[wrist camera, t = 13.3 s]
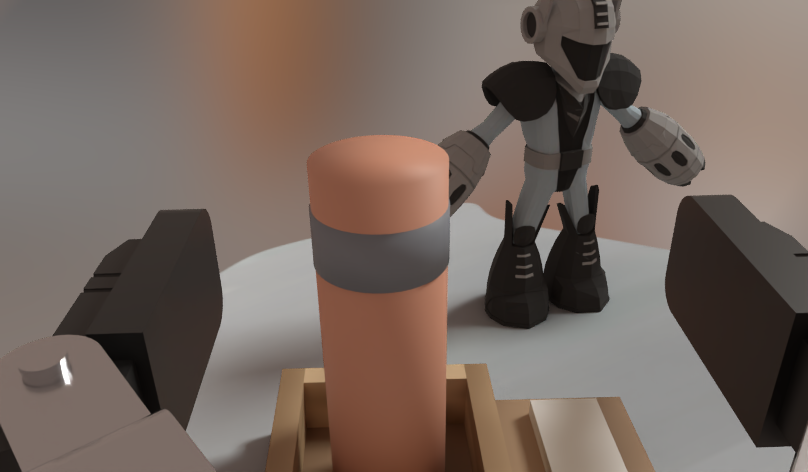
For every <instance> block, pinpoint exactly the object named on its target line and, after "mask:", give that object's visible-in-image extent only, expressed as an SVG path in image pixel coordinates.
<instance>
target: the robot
mask: <svg viewBox="0 0 808 472" xmlns="http://www.w3.org/2000/svg"><path fill="white" fill-rule="evenodd" d="M621 1H622V0H538V1H537V3H536V4H535V6H530V7H527V8H526V9H525V10H524V11H523V14H522V17H521V33H522V36H523V38H524V40H525V41H526V42H527V43H531V44H532V43H533V44H534V47H535V51H536V53H537V54H538V55H539V56H540V57H541V58H542V59H543V60H544V61H546V62H547V63H548V64H549V65H550V66H551V67H550V66H549V65H548V64H547V63H545V62H538V61H519V62H512V63H509V64H507V65H505V66H502V67H500V68H499V69H497V70H496V71H494V72H493V73H491V74H490V75H489V76H488V77H486V78H485V79H484V80H483V82H482V89H483V92H484V96H485V98H486V100H487V101H488V103H489V104H490V105H492V106H496V108H495V109H494V110H493V111H492V112H491V113H490V115H489V116H488V117H487V118H486V119H485V121H484V122H483V123H481V124H480V125H478V126H477V127H476V128H474V129H472V130H471V131H462V130H460V131H458V132H456V133H454V134H453V135H451V136H449V137H447V138H445V139H443V141H442V142H441V143H440V144H438V146H439V147H441V148H442V149H444V150H445V151H446V153H447V154H448V156H449V200H450V217H451V216H452V215H453V214H454V213H455V212H456V211H457V209H458V208H459V207H460V206H461V205H462V204H463V203H464V201H465V200H466V199H467V198H468V196H470V194H471V193H472V192H473V190H474V189H475V187H476V185H477V183H478V182H479V180H480V179H481V177H482V176H483V175H484V173H485V170H486V167H487V164H488V161H489V158H490V155H491V154H490V152H489V145H490V144H491V143H492V141H493V140H494V139H495V138H496V137H497V136H498V135H499V134H500V133H501V132H502V131H503V130H504V129H505V128H506V127H508V125H510V123H511V122H512V121H513V120H514V119H516V120H519V121H520V122H521V126H522V131H523V135H524V138H525V140H526V143H527V144H526V146H525V153H524V161H525V166H524V172H525V182H524V184H523V187H522V190H521V193H520V196H519V199H518V202H517V205H516V208H515V212H514V215H513V218H512V204H511V203H510V202H509V201H508V200H506V211H505V232H504V238H503V240H502V242H501V244H500V246H499V248H498V250H497V252H496V254H495V257H494V259H493V262H492V265H491V268H490V272H489V276H488V282H487V290H486V298H485V311H486V312H487V314H488V315H489V317H490V318H491V319H493V320H495V321H497V322H499V323H500V324H502V325H505V326H513V327H521V328H531V327H533V326H535V325H537V324H539V323H541V322H543V321H545V320H546V319H547V315H548V311H549V306H548V303H549V301H550V302H551V303H553V304H554V305H556V306H557V307H559V308H562V309H566V310H569V311H573V312H600V311H601V310H602V309H603V308H604V306H605V305H606V304H607V303H608V301H609V296H608V286H607V281H606V276H605V271H604V270H603V269H602V268H601V266H600V255H599V249H598V242H597V238H596V234H595V221H596V212H597V203H598V194H599V188H598V185H594V186H591V187H590V190H589V193H588V194H587V183H586V174H587V168H588V165H589V163H590V162H591V156H592V144H591V142H592V138H593V134H594V129H595V125H596V120H597V116H598V113H599V109H600V105H602V106H603V107H604V108H605V109H606V110H607V111H608V112H609V113H611V114H612V115H613V116H614V117H615V118H616V119H617V120H618V121H619V122H620V124H621V127H620V133H621V136H622V138H623V141H624V143H625V145H626V147H627V148H628V150H629V152H630V153H631V155H632V156H634V158H635V159H636V160H637V162H638V163H640V164H641V165H643V166H644V167H645V168H646V169H647V170H649V171H650V172H651V173H652V174H653V175H654V176H655V177H657V178H658V179H660V180H662V181H664V182H666V183H668V184H671V185H677V186H687V185H690V184H691V180H692V179H693V178H694V177H696V176H697V175H698V173H699V172H700V170H704V169H705V159H704V156H703V154H702V152H701V150H700V148H699V146H698V145H697V143H696V142H695V141H694V139H693V138H692V137H691V136H690V135H689V134H688V133H687V132H686V131H685V130H684V129H683V128H682V127H681V126H680V125H679V124H678V123H677V122H676V121H675V120H673V119H672V118H670V117H669V115H667V114H665V113H663V112H660V111H657V110H654V109H651V108H648V107H639V108H636V107H634V106H632V104H633V103H634V101H635V99H636V97H637V95H638V92H639V88H640V84H641V74H640V70H639V69H638V68H637V67H636V66H635V65H634V64H633V63H632V62H631V61H630V60H629V59H627V58H626V57H624V56H622V55H619V54H614V53H610V52H611V43H612V40H613V39H614V36H615V33H616V32H617V30H618V28H619V25H620V11H619V9H620V5H621ZM558 191H559V192H560V191H562V192H563V197H564V202H565V205H563V204H561V203H558V204H557V206H558V210H559V213H560V216H561V220H562V224H563V229H562V231H561V233H560V234H559V236H558V237H557V239H556V240H555V243H554V245H553V247H552V249H551V251H550V253H549V256H548V258H547V261H546V264H545V268H544V273H543V269H542V263H541V259H540V255H539V251H538V249H537V246H536V244H535V239H536V237H537V235H538V232H539V230H540V228H541V225H542V223H543V220H544V218H545V216H546V213H547V211H548V209H549V206H550V205H547V204H548V202H549V200H550V198H551V195H552V193H553V192H558Z"/></svg>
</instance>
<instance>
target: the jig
mask: <svg viewBox="0 0 808 472" xmlns="http://www.w3.org/2000/svg"><path fill="white" fill-rule="evenodd" d="M265 472H333V467H332V455H331V443H330V431H329V420H328V408H327V396H326V384H325V372H324V368H298V369H282V375H281V381H280V387H279V392H278V398H277V404H276V410H275V416H274V422H273V427H272V433H271V439H270V445H269V451H268V457H267V462H266V468H265ZM445 472H655V470H654V468H653V466H652V464H651V462H650V460H649V458H648V456H647V454H646V451H645V449H644V447H643V445H642V443H641V441H640V439H639V437H638V435H637V433H636V430H635V428H634V426H633V424H632V422H631V420H630V418H629V416H628V414H627V412H626V409H625V407H624V405H623V403H622V401H621V399H620V397H597V398H561V399H524V400H495V398H494V394H493V389H492V385H491V381H490V377H489V373H488V369H487V364H456V365H446V433H445Z"/></svg>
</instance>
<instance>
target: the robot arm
mask: <svg viewBox="0 0 808 472" xmlns="http://www.w3.org/2000/svg"><path fill="white" fill-rule="evenodd" d="M665 292H666V299H667V303H668V306H669V309H670V311H671V313H672V314H673V316H674V317H675V319H676V321H677V322H678V324H679V325H680V327H681V328H682V330H683V332H684V333H685V335H686V336H687V338H688V340H689V341H690V343H691V344H692V346H693V347H694V349H695V351H696V352H697V354H698V355H699V357H700V359H701V360H702V362H703V363H704V365H705V366H706V368H707V370H708V371H709V373H710V374H711V376H712V378H713V379H714V381H715V382H716V384H717V386H718V387H719V389H720V390H721V392H722V393H723V395H724V397H725V398H726V400H727V401H728V403H729V405H730V406H731V408H732V409H733V411H734V412H735V414H736V416H737V417H738V419H739V420H740V422H741V424H742V425H743V427H744V428H745V430H746V432H747V433H748V435H749V436H750V438H751V439H752V441H753V443H754V444H755V446H756V447H783V446H792V448H793V449H794V451H795V455H794V458H793V461H792V464H791V467H790V470H789V472H808V251H807V250H806V249H805V248H804V247H803V246H802V245H801V244H800V243H799V242H798V241H797V240H796V239H795V238H793V237H792V236H790V235H789V234H787V233H785V232H783V231H781V230H779V229H777V228H775V227H773V226H771V225H769V224H767V223H765V222H760V221H759V220H758V219H757V218H756V217H755V216H754V215H753V214H752V213H751V212H750V211H749V210H748V209H747V208H746V207H745V206H744V205H743V204H742V203H741V202H740V201H739V200H738V199H737V198H736V197H734V196H733V195H702V196H686V197H684V198H683V199H682V201H681V203H680V205H679V208H678V211H677V217H676V222H675V228H674V233H673V238H672V244H671V249H670V254H669V260H668V265H667V271H666V277H665ZM222 309H223V297H222V287H221V280H220V274H219V268H218V262H217V256H216V250H215V243H214V238H213V231H212V225H211V220H210V217H209V214H208V212H207V210H206V209H183V210H160V211H159V212H158V213H157V215H156V216H155V218H154V220H153V221H152V223H151V225H150V227H149V228H148V230H147V232H146V233H145V235H144V237H143V238H142V239H132V240H127V241H126V242H124V243H123V244H122V245H120V246H119V247H117V248H116V249H115V250H113V251H111V252H110V253H109V254H107V255H106V256H105V257H104V259H103V260H102V262H101V263H100V265H99V266H98V268H97V269H96V271H95V272H94V277H91V279H90V280H89V281H88V283H87V284H86V286H85V287H84V293H80V295H79V297H78V298H77V300H76V301H75V303H74V304H73V306H72V307H71V309H70V310H69V312H68V313H67V315H66V316H65V318H64V320H63V321H62V322H61V324H60V325H59V327H58V328H57V330H56V331H55V333H54V334H53V336H52V337H46V338H42V339H38V340H35V341H32V342H30V343H27V344H25V345H22V346H20V347H18V348H16V349H14V350H13V351H11V352H9V353H8V354H6V355H5V356H3V357H2V358H1V359H0V472H216V470H215V469H214V468H213V466H212V465H211V464H210V462H209V461H208V460H207V459H206V457H205V456H204V455H203V453H202V452H201V451H200V450H199V448H198V447H197V446H196V444H195V443H194V442H193V440H192V439H191V438H190V437H189V435H188V434H187V433H186V429H187V425H188V422H189V419H190V416H191V413H192V410H193V407H194V404H195V401H196V398H197V395H198V392H199V389H200V386H201V383H202V379H203V376H204V373H205V370H206V367H207V364H208V361H209V358H210V355H211V352H212V349H213V346H214V343H215V340H216V337H217V333H218V330H219V327H220V324H221V319H222Z"/></svg>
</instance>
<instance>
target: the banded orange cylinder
mask: <svg viewBox="0 0 808 472" xmlns="http://www.w3.org/2000/svg"><path fill="white" fill-rule="evenodd" d="M307 172H308V183H309V195H310V204H309V214H310V226H311V237H312V249H313V261H314V267H315V270H316V278H317V290H318V302H319V313H320V325H321V337H322V349H323V361H324V372H325V384H326V396H327V408H328V420H329V431H330V443H331V455H332V467H333V472H445V433H446V357H447V281H448V263H449V245H450V200H449V156H448V154H447V153H446V151H445V150H444V149H442V148H441V147H439V146H438V145H436V144H433V143H431V142H428V141H425V140H421V139H417V138H412V137H405V136H395V135H371V136H360V137H353V138H348V139H343V140H340V141H336V142H333V143H330V144H327V145H325V146H323V147H321V148H319V149H317V150H316V151H314V152H313V153H312V154H311V155H310V156H309V158H308V160H307Z"/></svg>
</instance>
